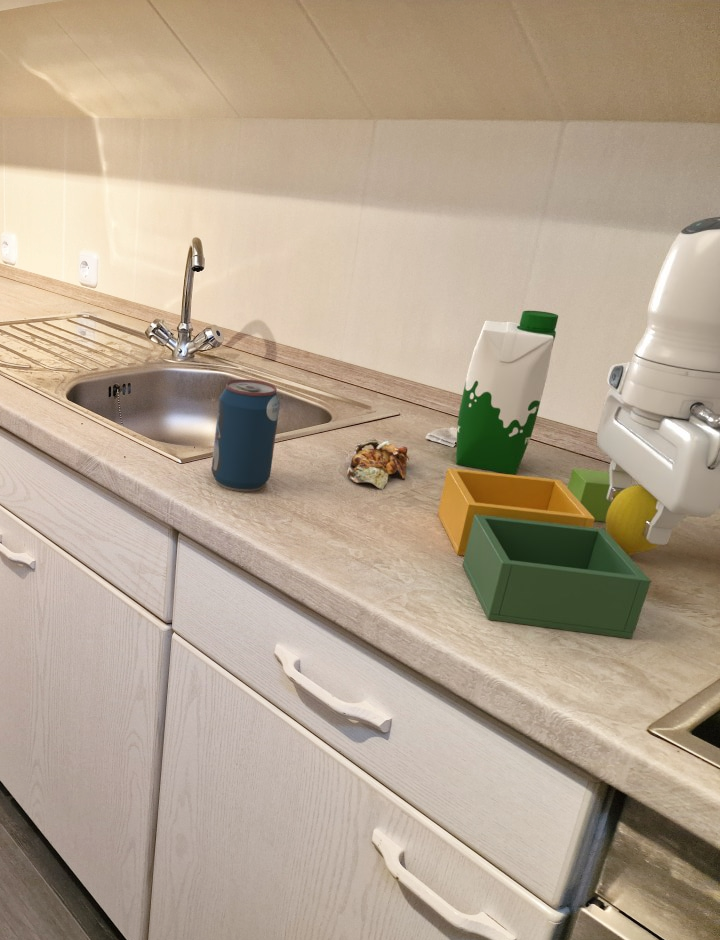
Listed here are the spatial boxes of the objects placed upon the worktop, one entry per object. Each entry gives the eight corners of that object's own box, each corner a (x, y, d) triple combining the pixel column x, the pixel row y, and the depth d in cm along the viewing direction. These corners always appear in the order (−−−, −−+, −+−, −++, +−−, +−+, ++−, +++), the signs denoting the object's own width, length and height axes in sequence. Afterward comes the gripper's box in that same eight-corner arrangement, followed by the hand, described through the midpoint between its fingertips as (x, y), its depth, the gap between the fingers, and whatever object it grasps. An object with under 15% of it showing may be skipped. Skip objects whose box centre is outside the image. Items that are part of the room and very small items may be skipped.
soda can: (280, 487, 101) (294, 389, 97) (238, 498, 98) (251, 397, 93) (239, 468, 107) (251, 375, 102) (198, 478, 103) (208, 381, 98)
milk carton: (523, 479, 108) (563, 321, 100) (447, 465, 111) (480, 312, 104) (523, 458, 115) (560, 310, 108) (451, 446, 119) (483, 302, 111)
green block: (603, 508, 100) (614, 472, 98) (618, 523, 96) (629, 486, 94) (562, 503, 101) (572, 468, 99) (575, 518, 96) (586, 481, 95)
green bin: (588, 581, 82) (604, 528, 80) (632, 639, 72) (651, 581, 70) (461, 565, 84) (474, 513, 82) (487, 619, 74) (502, 562, 72)
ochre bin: (547, 526, 94) (560, 479, 92) (580, 570, 84) (595, 518, 82) (437, 513, 96) (447, 467, 94) (457, 555, 86) (468, 504, 84)
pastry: (341, 482, 104) (345, 455, 102) (353, 453, 114) (358, 428, 113) (401, 494, 101) (407, 465, 100) (409, 463, 111) (414, 437, 110)
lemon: (594, 538, 92) (615, 469, 89) (654, 550, 89) (678, 480, 86) (598, 558, 87) (620, 486, 84) (662, 572, 85) (686, 498, 82)
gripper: (773, 426, 72) (718, 572, 77) (667, 369, 90) (629, 489, 95) (691, 418, 73) (642, 562, 78) (603, 363, 91) (568, 482, 96)
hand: (634, 521), depth 87 cm, fingers open, 8 cm apart
